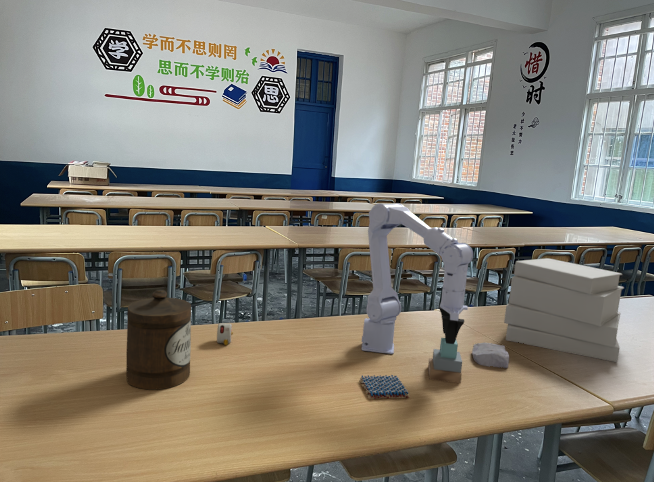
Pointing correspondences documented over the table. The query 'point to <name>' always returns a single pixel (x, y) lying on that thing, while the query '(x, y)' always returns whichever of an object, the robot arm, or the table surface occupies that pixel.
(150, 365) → the wooden container
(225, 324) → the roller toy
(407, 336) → the table surface
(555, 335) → the book stack
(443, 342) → the teal cube
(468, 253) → the robot arm
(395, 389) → the woven mat
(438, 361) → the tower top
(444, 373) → the tower base
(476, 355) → the stone block
